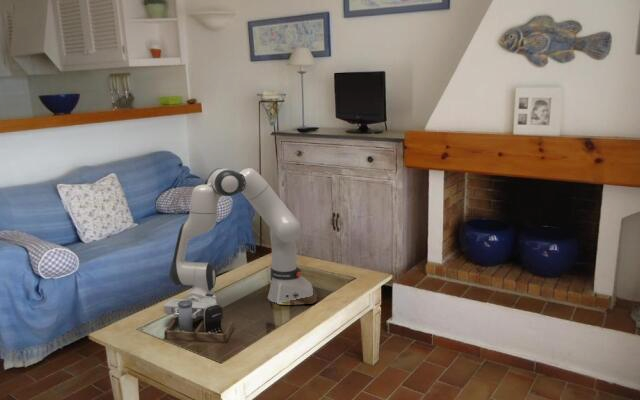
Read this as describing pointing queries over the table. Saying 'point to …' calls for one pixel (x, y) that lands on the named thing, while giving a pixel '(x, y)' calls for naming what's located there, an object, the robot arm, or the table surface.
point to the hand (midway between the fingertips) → (184, 316)
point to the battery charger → (213, 318)
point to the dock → (197, 333)
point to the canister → (185, 315)
